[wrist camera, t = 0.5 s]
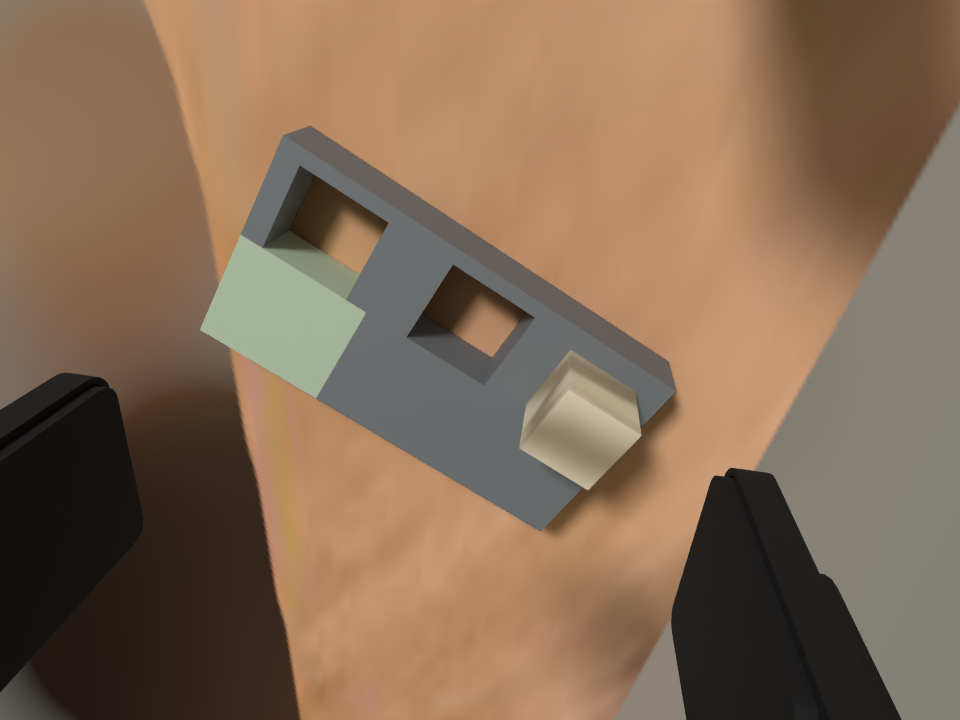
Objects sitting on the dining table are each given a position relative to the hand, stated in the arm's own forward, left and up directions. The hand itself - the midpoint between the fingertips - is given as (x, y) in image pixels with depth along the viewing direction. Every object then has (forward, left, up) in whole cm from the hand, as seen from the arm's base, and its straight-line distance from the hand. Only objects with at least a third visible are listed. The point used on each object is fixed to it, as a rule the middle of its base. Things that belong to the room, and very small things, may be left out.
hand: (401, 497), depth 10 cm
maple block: (+10, +11, -28) cm, 32 cm away
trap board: (+14, +1, -32) cm, 35 cm away
